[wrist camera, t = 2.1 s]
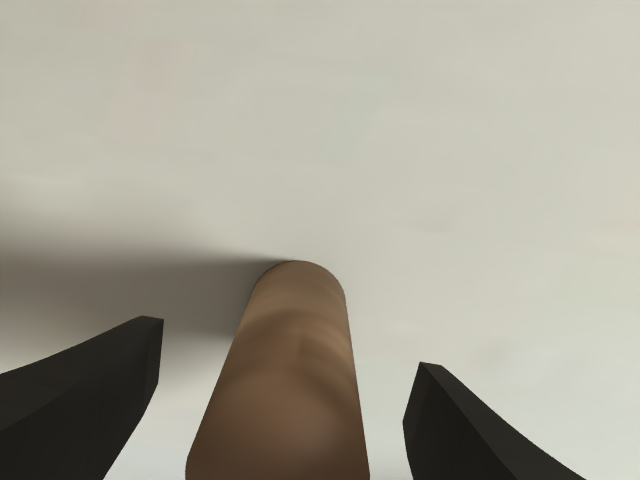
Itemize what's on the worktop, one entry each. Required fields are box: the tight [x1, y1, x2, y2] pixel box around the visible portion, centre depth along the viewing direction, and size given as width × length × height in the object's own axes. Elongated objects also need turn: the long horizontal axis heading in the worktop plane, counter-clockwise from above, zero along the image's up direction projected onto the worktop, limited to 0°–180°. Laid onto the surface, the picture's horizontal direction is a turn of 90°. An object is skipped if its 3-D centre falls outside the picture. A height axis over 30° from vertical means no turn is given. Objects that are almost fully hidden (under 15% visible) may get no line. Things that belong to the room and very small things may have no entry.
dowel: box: [185, 261, 370, 480], centre depth 12 cm, size 4×4×8 cm
